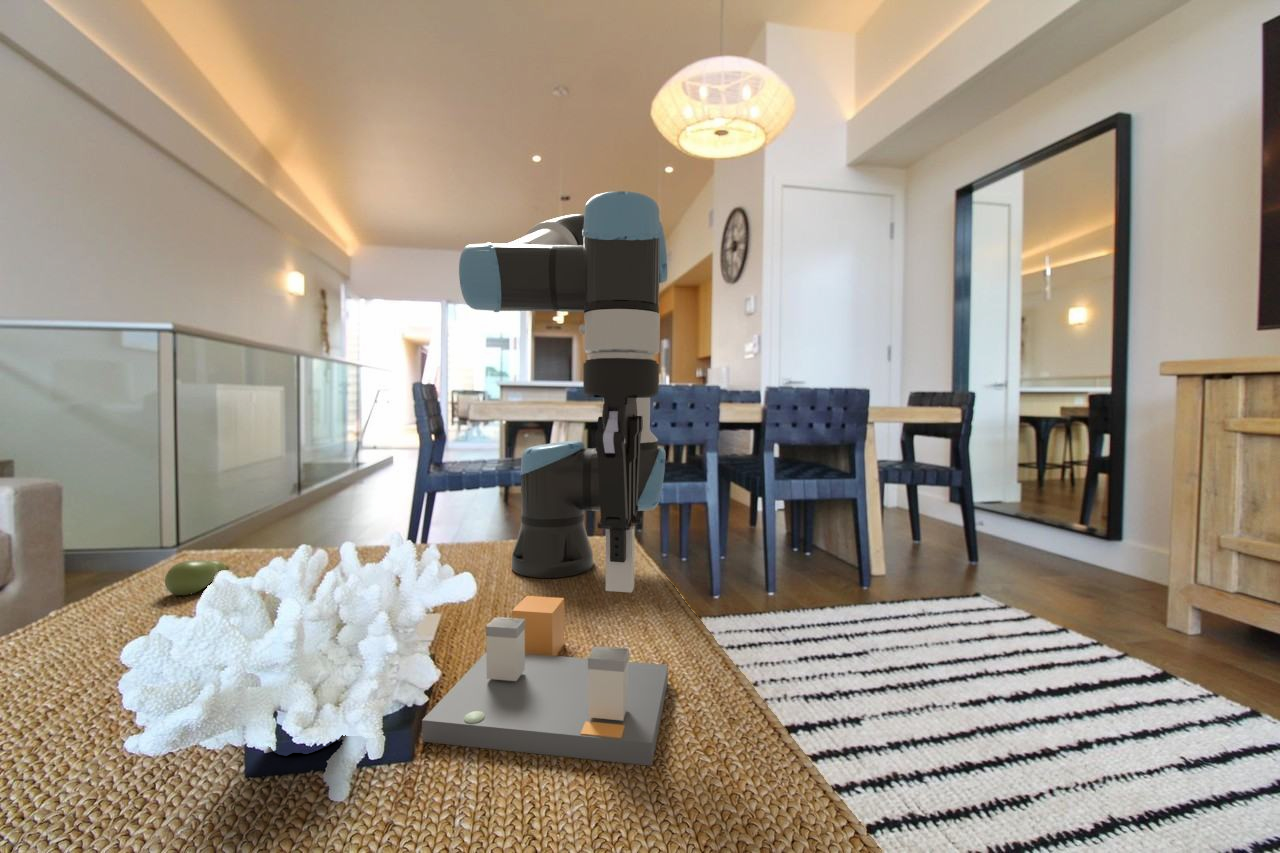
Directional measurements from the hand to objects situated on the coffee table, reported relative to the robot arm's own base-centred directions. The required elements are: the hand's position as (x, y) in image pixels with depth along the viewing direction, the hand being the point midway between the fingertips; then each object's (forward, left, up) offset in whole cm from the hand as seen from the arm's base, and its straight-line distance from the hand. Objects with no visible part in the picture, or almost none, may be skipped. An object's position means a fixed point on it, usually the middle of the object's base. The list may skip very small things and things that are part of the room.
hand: (620, 588), depth 56 cm
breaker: (+1, -12, -10) cm, 15 cm away
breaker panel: (+3, -6, -12) cm, 13 cm away
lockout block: (-9, -12, -12) cm, 19 cm away
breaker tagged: (+6, 0, -10) cm, 12 cm away
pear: (-22, -74, -12) cm, 78 cm away
